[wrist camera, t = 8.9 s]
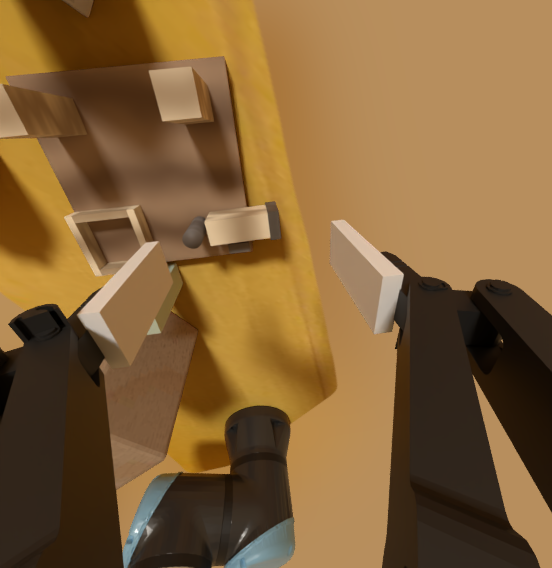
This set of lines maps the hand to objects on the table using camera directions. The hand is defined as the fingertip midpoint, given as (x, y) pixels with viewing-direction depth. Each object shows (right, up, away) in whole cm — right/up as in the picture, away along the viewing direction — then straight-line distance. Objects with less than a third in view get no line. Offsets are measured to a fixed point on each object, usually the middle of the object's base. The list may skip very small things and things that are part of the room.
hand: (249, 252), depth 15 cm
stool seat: (-13, +11, +15) cm, 22 cm away
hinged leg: (-2, +6, +17) cm, 18 cm away
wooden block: (-19, -9, +27) cm, 34 cm away
